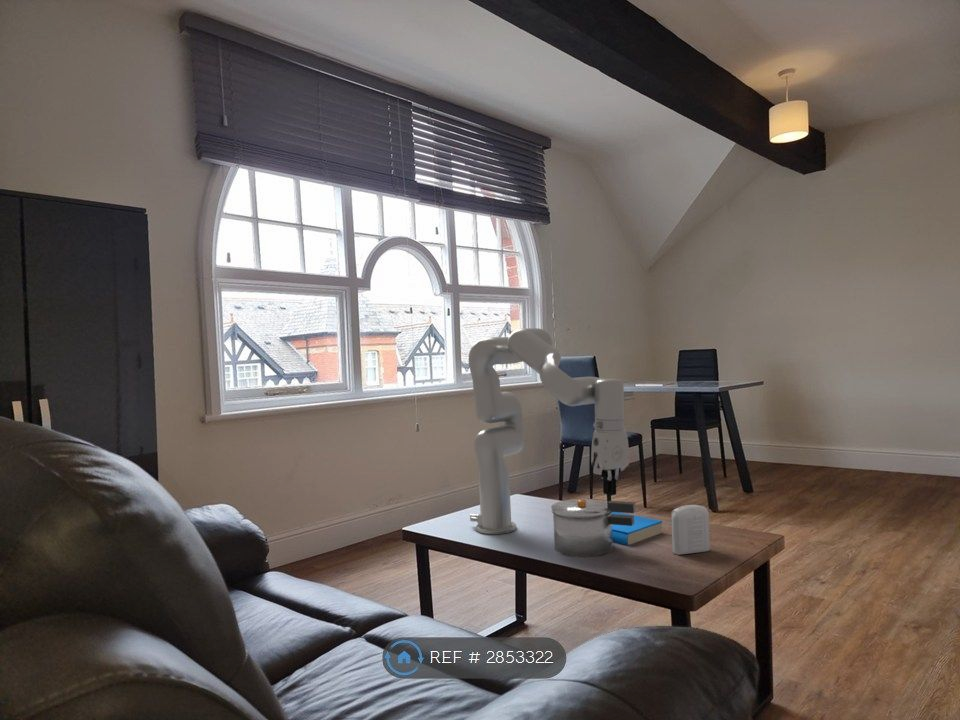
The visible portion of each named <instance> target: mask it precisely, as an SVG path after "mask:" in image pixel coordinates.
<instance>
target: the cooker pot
mask: <svg viewBox="0 0 960 720" xmlns="http://www.w3.org/2000/svg"><path fill="white" fill-rule="evenodd" d="M552 515H553V517H552V518H553V538H554V539H553V540H554V542H553V543H554V544H553V545H554V550H555V551H556V552H557V551H558V552H557V553H559V552H560V553H559V554H561V553H562V555H564V554H565V555H564V556H569V555H570V557H576V556H577V557H578V558H579V557H581V558H589V557H598V556H604V555H606V554H609V553H611V552H612V551H613V549H614V542H613V536H612V524H613V525H626V526H632V525H633V524H634V516H632V515H633V514H630V515H618V514H612V513H611V514H609V515H606V516H603V517H597V518H586V519H577V518H566V517H561V516H557V515H555V514H553V513H552Z"/></svg>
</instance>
